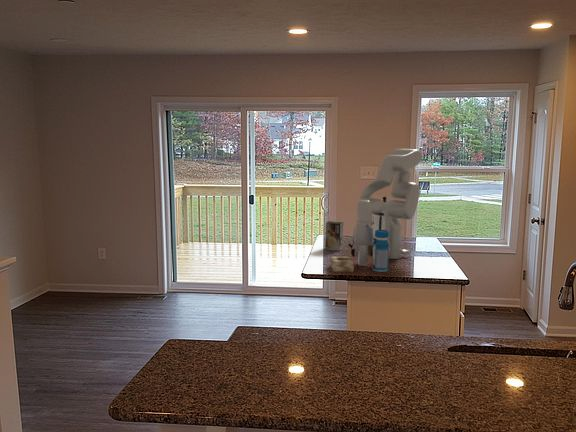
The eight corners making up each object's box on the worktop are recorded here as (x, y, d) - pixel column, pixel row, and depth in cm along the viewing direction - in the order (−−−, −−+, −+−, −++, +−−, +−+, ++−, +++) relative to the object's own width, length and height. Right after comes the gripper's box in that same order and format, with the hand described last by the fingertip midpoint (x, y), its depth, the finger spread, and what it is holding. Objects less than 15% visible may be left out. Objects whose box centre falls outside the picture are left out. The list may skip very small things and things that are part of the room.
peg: (365, 263, 266) (366, 241, 264) (366, 265, 262) (367, 243, 260) (357, 263, 266) (358, 241, 264) (359, 265, 262) (360, 243, 260)
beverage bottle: (380, 273, 248) (382, 233, 245) (367, 269, 255) (369, 230, 252) (392, 270, 253) (394, 231, 250) (379, 266, 260) (381, 228, 257)
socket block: (349, 266, 260) (350, 256, 260) (353, 271, 251) (353, 261, 250) (330, 266, 260) (330, 256, 259) (333, 271, 250) (333, 261, 249)
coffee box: (342, 248, 299) (343, 222, 296) (339, 251, 293) (340, 223, 290) (328, 247, 302) (328, 220, 300) (324, 249, 296) (325, 222, 294)
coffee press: (398, 244, 314) (401, 196, 309) (389, 248, 301) (391, 198, 296) (372, 240, 323) (375, 194, 319) (362, 245, 310) (364, 196, 305)
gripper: (379, 222, 264) (377, 254, 267) (346, 222, 263) (344, 254, 266) (382, 225, 257) (380, 258, 260) (348, 224, 256) (347, 257, 259)
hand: (362, 256), depth 263 cm, fingers open, 9 cm apart
